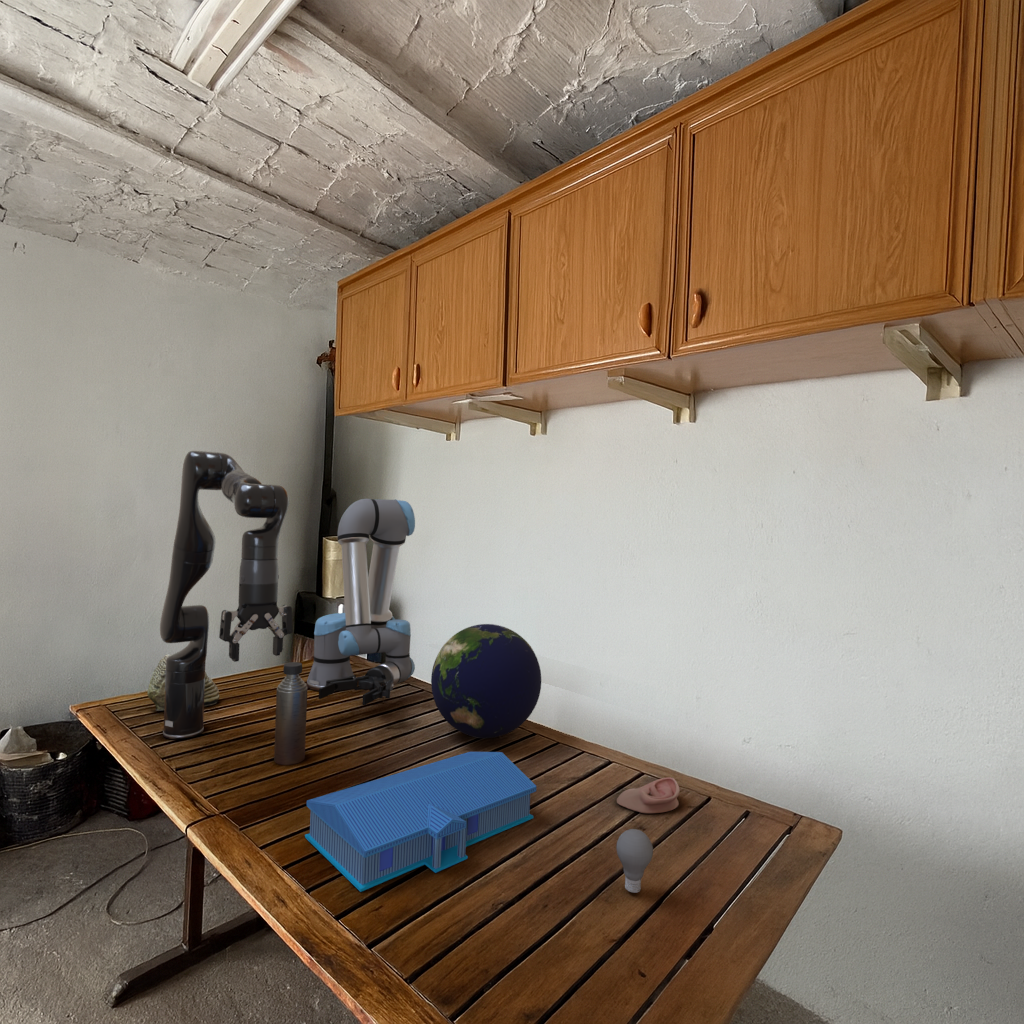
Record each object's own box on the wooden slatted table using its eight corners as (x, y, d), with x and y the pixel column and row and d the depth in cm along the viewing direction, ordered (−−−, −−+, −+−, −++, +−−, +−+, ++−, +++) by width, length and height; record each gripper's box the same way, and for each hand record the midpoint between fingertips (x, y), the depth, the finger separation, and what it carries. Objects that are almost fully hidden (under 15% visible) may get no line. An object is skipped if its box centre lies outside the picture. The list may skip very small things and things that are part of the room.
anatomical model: (616, 790, 133) (618, 768, 145) (615, 809, 133) (618, 785, 145) (681, 799, 131) (678, 776, 142) (680, 818, 131) (677, 793, 142)
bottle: (288, 767, 147) (291, 671, 147) (267, 760, 151) (271, 666, 150) (311, 757, 153) (314, 665, 153) (290, 750, 157) (294, 660, 156)
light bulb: (610, 879, 108) (613, 822, 108) (644, 879, 109) (647, 822, 109) (619, 902, 102) (622, 840, 102) (655, 901, 103) (658, 840, 103)
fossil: (144, 707, 182) (145, 655, 182) (212, 696, 194) (213, 647, 194) (151, 716, 175) (153, 662, 175) (221, 703, 188) (223, 653, 188)
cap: (292, 676, 149) (292, 667, 149) (279, 673, 151) (279, 664, 151) (305, 672, 152) (306, 663, 152) (293, 669, 154) (293, 661, 154)
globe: (407, 742, 164) (412, 628, 164) (459, 709, 192) (464, 611, 192) (514, 765, 153) (519, 642, 153) (553, 726, 181) (558, 622, 180)
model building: (370, 901, 100) (373, 839, 100) (303, 836, 118) (305, 782, 118) (545, 824, 126) (547, 774, 126) (468, 780, 144) (470, 736, 144)
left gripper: (284, 576, 139) (281, 649, 139) (216, 579, 129) (213, 658, 130) (299, 580, 134) (296, 656, 134) (230, 584, 124) (227, 667, 124)
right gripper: (418, 695, 186) (382, 716, 166) (345, 685, 194) (301, 704, 174) (419, 669, 186) (383, 688, 166) (346, 660, 194) (302, 677, 174)
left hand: (256, 657), depth 132 cm, fingers open, 8 cm apart
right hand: (341, 696), depth 170 cm, fingers open, 13 cm apart
